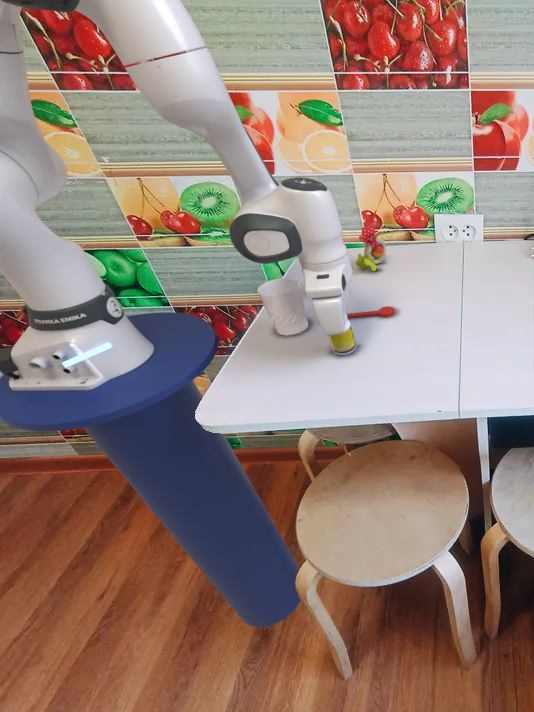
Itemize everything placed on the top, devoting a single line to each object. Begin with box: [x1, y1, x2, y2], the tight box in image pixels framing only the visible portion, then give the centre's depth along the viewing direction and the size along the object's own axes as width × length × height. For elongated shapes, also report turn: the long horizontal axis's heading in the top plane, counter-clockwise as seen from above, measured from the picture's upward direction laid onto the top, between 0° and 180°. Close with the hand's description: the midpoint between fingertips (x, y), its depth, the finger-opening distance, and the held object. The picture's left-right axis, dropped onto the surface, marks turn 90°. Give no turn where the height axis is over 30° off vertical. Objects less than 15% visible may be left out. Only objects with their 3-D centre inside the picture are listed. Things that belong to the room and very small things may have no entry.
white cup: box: [257, 277, 309, 336], centre depth 100 cm, size 8×8×10 cm
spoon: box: [347, 305, 396, 319], centre depth 106 cm, size 16×4×1 cm, turn 101°
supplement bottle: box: [327, 313, 357, 356], centre depth 93 cm, size 5×5×8 cm
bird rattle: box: [354, 227, 387, 272], centre depth 124 cm, size 6×11×9 cm
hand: (344, 329), depth 98 cm, fingers closed
